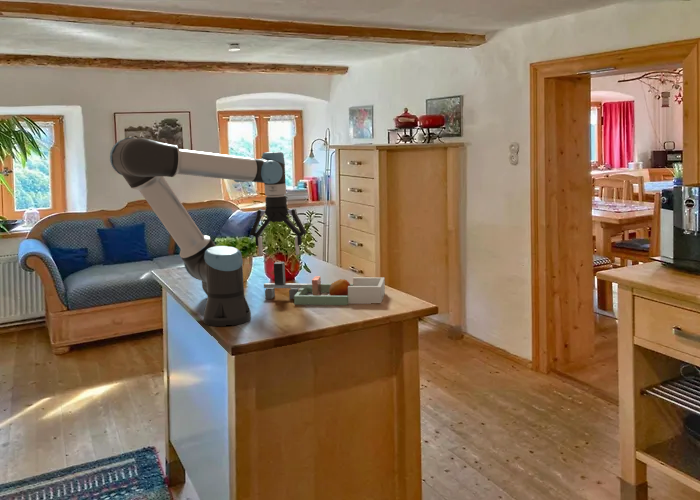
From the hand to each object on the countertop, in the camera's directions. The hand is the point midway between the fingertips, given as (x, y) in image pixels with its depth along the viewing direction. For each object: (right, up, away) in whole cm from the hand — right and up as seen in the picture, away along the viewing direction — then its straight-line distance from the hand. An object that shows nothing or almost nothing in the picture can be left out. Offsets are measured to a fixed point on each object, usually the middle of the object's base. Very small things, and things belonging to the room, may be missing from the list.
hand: (279, 254), depth 230 cm
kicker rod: (+4, -15, +2) cm, 16 cm away
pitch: (+11, -16, +1) cm, 19 cm away
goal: (+31, -16, -2) cm, 35 cm away
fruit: (+22, -16, 0) cm, 27 cm away
